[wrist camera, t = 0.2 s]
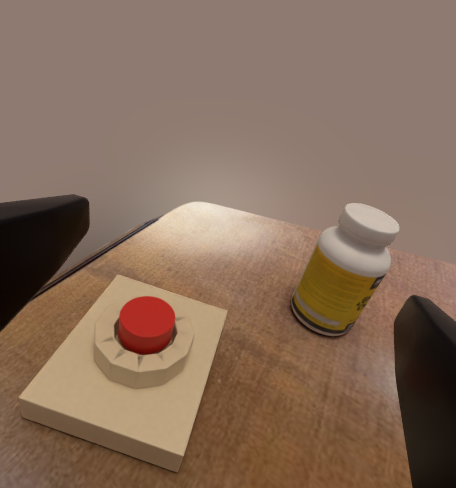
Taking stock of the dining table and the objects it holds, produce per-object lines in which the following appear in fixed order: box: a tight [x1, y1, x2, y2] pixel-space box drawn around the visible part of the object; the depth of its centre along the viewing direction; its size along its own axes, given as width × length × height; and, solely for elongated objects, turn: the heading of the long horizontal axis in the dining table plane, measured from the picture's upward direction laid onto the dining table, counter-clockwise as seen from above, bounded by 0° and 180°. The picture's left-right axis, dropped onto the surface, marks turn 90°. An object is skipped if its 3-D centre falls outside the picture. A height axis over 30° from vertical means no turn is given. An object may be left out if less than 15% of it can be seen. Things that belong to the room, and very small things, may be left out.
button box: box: [19, 275, 228, 472], centre depth 24 cm, size 10×12×4 cm
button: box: [118, 296, 175, 354], centre depth 23 cm, size 4×4×2 cm
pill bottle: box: [291, 203, 399, 336], centre depth 32 cm, size 6×6×12 cm
